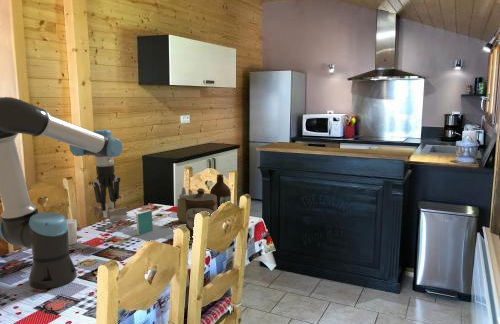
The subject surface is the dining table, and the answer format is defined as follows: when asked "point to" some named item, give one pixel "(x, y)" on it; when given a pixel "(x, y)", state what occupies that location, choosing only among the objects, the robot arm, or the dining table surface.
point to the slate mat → (151, 233)
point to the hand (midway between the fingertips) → (109, 216)
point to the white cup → (72, 231)
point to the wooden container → (199, 206)
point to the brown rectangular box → (112, 213)
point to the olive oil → (221, 191)
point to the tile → (144, 222)
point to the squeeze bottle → (182, 206)
